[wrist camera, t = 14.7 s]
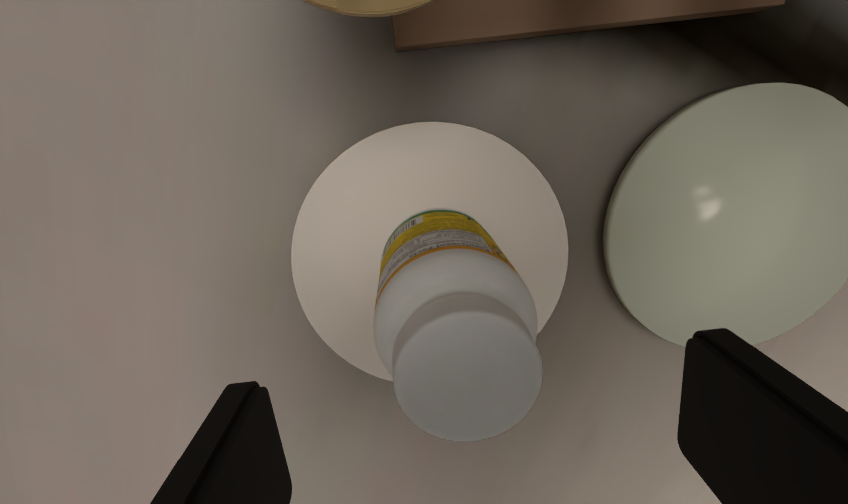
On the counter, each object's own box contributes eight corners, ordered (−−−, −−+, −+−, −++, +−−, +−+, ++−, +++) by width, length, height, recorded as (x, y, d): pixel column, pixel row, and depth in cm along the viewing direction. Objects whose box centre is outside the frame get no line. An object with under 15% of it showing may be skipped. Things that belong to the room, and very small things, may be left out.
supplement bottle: (382, 203, 20) (365, 280, 11) (500, 207, 20) (584, 285, 11) (380, 314, 21) (365, 463, 12) (490, 316, 22) (556, 463, 12)
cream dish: (556, 106, 20) (567, 105, 19) (560, 355, 24) (569, 369, 23) (272, 138, 20) (263, 139, 19) (323, 384, 24) (318, 400, 23)
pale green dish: (875, 69, 20) (908, 66, 19) (829, 322, 24) (854, 334, 23) (599, 101, 20) (613, 100, 19) (596, 350, 24) (608, 364, 23)
